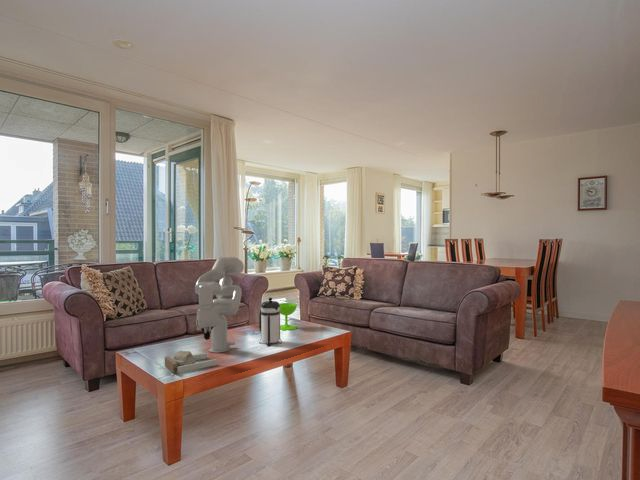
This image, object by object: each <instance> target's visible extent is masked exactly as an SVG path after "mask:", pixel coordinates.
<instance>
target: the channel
mask: <svg viewBox="0 0 640 480" xmlns="http://www.w3.org/2000/svg"><path fill="white" fill-rule="evenodd" d="M192 355H193V356H194V357H195V361H200V360H205V359H208V352H203V353H197V354H192ZM213 366H218V359H217V358H215V359H209V360H205V361H200V362H195V363H194V364H189V365H184V366H179V367H177V363H176V362H175V361H174V360H173V358H171V356H169V355H167V356H164V367H165V368H166V369H167V370H168V371H169V372H170V373H171V374H172V375H175V374H176V375H177V374H181V373H185V372H190V371H194V370H195V371H196V370H200V369H203V368H209V367H213Z"/></svg>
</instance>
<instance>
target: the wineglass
mask: <svg viewBox="0 0 640 480" xmlns="http://www.w3.org/2000/svg"><path fill="white" fill-rule="evenodd" d="M279 304H280V315H283V316H284V324H280V330H282V332H283V331H285V332H286V330H290V331H295V330H297V329H296V328H298V327H297V326H296V325H294V324H288V322H289V319H288V317H289V316H291V315H292V314H293V313H294V312H296V309H297V304H296V303H292V302H283V303H280V302H279ZM294 329H295V330H294Z"/></svg>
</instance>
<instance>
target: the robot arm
mask: <svg viewBox="0 0 640 480" xmlns="http://www.w3.org/2000/svg"><path fill="white" fill-rule="evenodd" d="M244 268H245V267H244V262H243V261H242V260H241V259H239V258H238V257H235V256H229V257H228V256H224V257H223V256H220V257H218V258H217V259H216V260H215V262H214V264H213V266H212V268H211V270H208V271H207V272H204V273H203V274H202V275H200V276H199V278H198V279H197V281H196V283H195V286H194V292H195V294H197V295H198V309H197V311H196V321H195V322H196V323H195V325H196V330H197V331H201V332H203V339H205V341H207V340H211V347H209V348H208V352H210V353H213V354H216V353H218V354H219V353H225V352H228V351H230V350H231V346H234V345H236V342H235V341H228V319H227V318H226V316H225V315H236V314H237V313H238V311H239V308H240V303H241V300H242V295H243V292H242V291H243V289H242V287H241V286H240V285H236V284H233V282H234V281H233V279H232V277H231V276H230V274H241V273H242V272H244ZM228 274H229V275H228ZM214 296H215V297H216V298H214ZM210 338H211V339H210Z"/></svg>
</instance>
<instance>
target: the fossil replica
mask: <svg viewBox="0 0 640 480" xmlns="http://www.w3.org/2000/svg"><path fill="white" fill-rule="evenodd" d="M193 355H194V354H193V353H192V352H191V351H189V350H188V351H187V350H180V351H176V352H175V353H174V354H173V358H172V359H173V360H174V361H175V362H176V363H177V367H179V366H184V365H189V364H194V363H196V360H195V357H194V356H193Z"/></svg>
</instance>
